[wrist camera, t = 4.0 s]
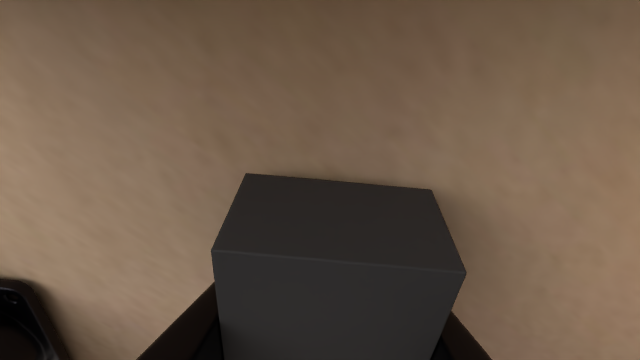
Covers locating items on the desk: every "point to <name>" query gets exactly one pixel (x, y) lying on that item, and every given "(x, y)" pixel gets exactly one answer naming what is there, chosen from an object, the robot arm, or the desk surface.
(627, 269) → the desk surface
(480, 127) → the desk surface
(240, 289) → the black block
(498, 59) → the desk surface
